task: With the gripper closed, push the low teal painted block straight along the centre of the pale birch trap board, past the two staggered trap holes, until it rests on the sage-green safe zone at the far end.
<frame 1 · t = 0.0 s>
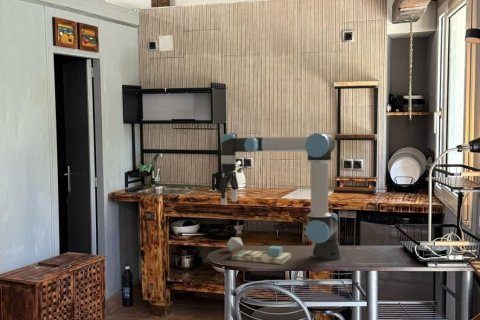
hand: (229, 203, 286), 28 cm above the table, tool pointing down, fingers open, 13 cm apart
trap board: (260, 258, 279), on the table
block: (275, 255, 276), point 2 cm above the table, touching trap board
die: (235, 252, 297), on the table
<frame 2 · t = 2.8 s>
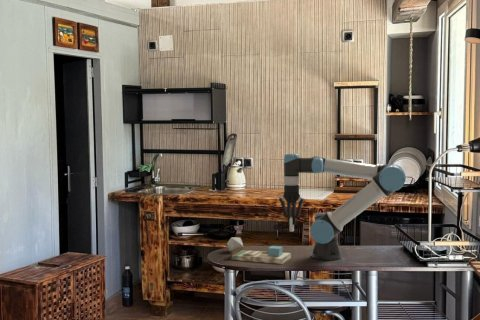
hand: (291, 231, 272), 15 cm above the table, tool pointing down, fingers closed
nothing on the table moved.
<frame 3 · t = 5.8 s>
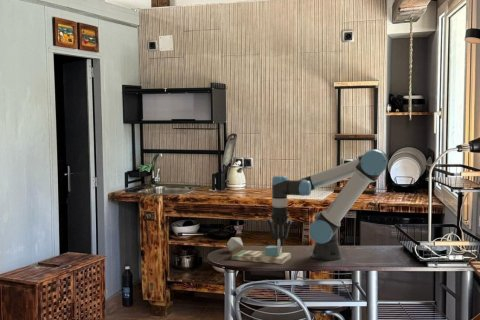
hand: (279, 252, 275), 4 cm above the table, tool pointing down, fingers closed
block: (272, 254, 277), point 3 cm above the table, touching gripper
everything else where it was.
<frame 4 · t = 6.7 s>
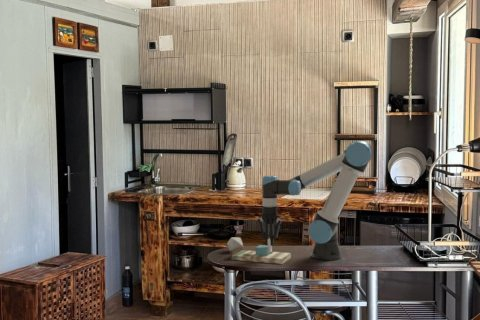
hand: (269, 251, 277), 4 cm above the table, tool pointing down, fingers closed
block: (263, 254, 279), point 2 cm above the table, touching gripper, trap board
everything else where it was.
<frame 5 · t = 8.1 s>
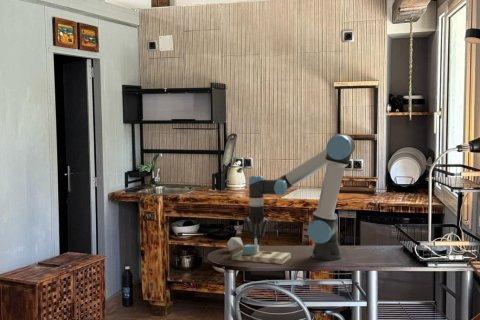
hand: (256, 250, 280), 4 cm above the table, tool pointing down, fingers closed
block: (250, 253, 281), point 2 cm above the table, touching gripper
everything else where it was.
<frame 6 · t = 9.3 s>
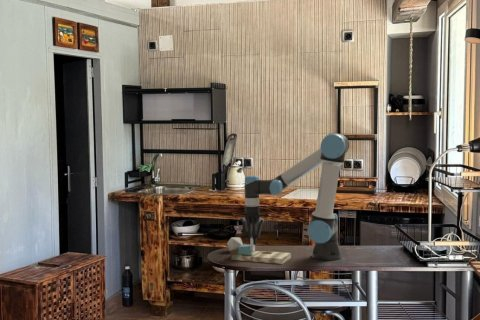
hand: (252, 250, 281), 4 cm above the table, tool pointing down, fingers closed
block: (246, 253, 282), point 2 cm above the table, touching gripper, trap board
everything else where it was.
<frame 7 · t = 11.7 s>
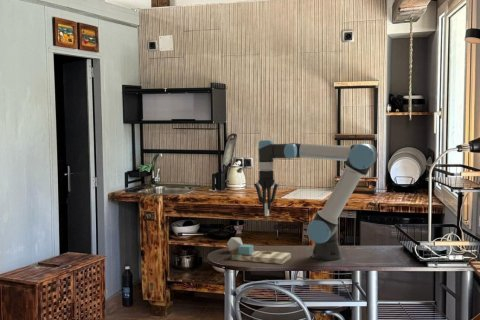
hand: (267, 215, 278), 22 cm above the table, tool pointing down, fingers closed
block: (246, 253, 282), point 2 cm above the table, touching trap board
everything else where it was.
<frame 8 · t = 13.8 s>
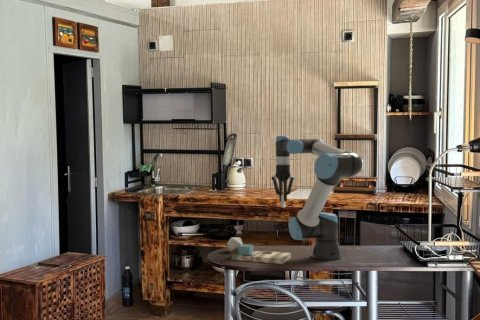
hand: (283, 207, 294), 24 cm above the table, tool pointing down, fingers closed
nothing on the table moved.
at the end: block inside the target area (1.9 cm from its centre), point 2.2 cm above the table; block tilted 0° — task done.
